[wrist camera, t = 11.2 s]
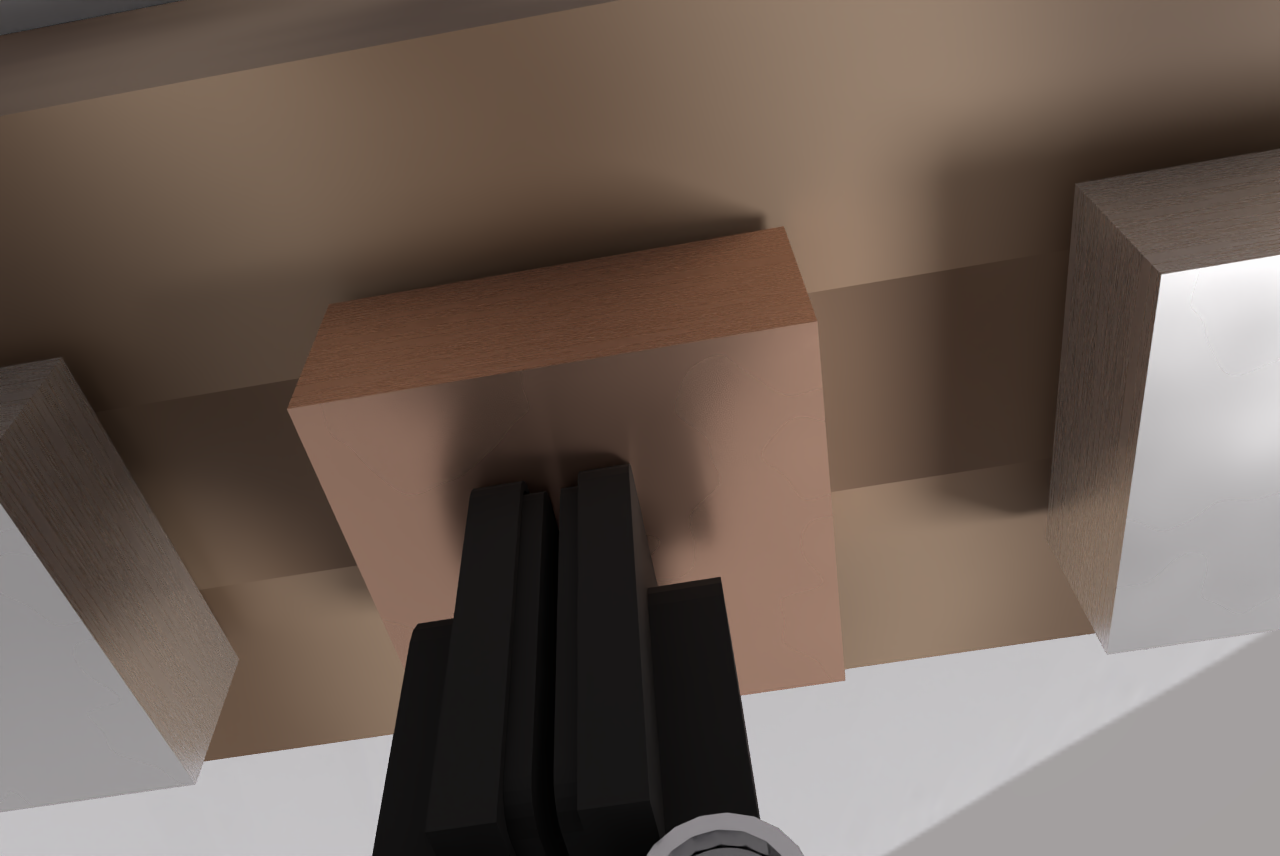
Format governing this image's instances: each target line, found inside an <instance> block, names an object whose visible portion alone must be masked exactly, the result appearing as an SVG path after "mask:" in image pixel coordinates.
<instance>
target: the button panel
mask: <svg viewBox="0 0 1280 856" xmlns="http://www.w3.org/2000/svg"><path fill="white" fill-rule="evenodd" d="M1274 149H1280V0H182V1H177V2H172V3H167V4H162V5H156V6H151V7H146V8H141V9H136V10H130V11H125V12H120V13H115V14H110V15H104V16H99V17H94V18H89V19H84V20H78V21H73V22H68V23H63V24H58V25H52V26H47V27H42V28H37V29H32V30H26V31H21V32H16V33H11V34H6V35H0V367H5V366H11V365H17V364H23V363H28V362H34V361H40V360H46V359H52V358H58V357H63V359H64V361H65V363H66V364H67V366H68V368H69V369H70V371H71V373H72V375H73V376H74V378H75V380H76V381H77V383H78V385H79V387H80V388H81V390H82V392H83V393H84V395H85V397H86V398H87V400H88V402H89V404H90V405H91V407H92V409H93V410H94V412H95V414H96V416H97V417H98V419H99V421H100V422H101V424H102V426H103V427H104V429H105V431H106V433H107V434H108V436H109V438H110V439H111V441H112V443H113V445H114V446H115V448H116V450H117V451H118V453H119V455H120V457H121V458H122V460H123V462H124V463H125V465H126V467H127V468H128V470H129V472H130V474H131V475H132V477H133V479H134V480H135V482H136V484H137V486H138V487H139V489H140V491H141V492H142V494H143V496H144V497H145V499H146V501H147V503H148V504H149V506H150V508H151V509H152V511H153V513H154V515H155V516H156V518H157V520H158V521H159V523H160V525H161V527H162V528H163V530H164V532H165V533H166V535H167V537H168V538H169V540H170V542H171V544H172V545H173V547H174V549H175V550H176V552H177V554H178V556H179V557H180V559H181V561H182V562H183V564H184V566H185V568H186V569H187V571H188V573H189V574H190V576H191V578H192V579H193V581H194V583H195V585H196V586H197V588H198V590H199V591H200V593H201V595H202V597H203V598H204V600H205V602H206V603H207V605H208V607H209V608H210V610H211V612H212V614H213V615H214V617H215V619H216V620H217V622H218V624H219V626H220V627H221V629H222V631H223V632H224V634H225V636H226V638H227V639H228V641H229V643H230V644H231V646H232V648H233V649H234V651H235V653H236V655H237V656H238V658H239V661H238V664H237V667H236V670H235V673H234V676H233V678H232V681H231V684H230V687H229V690H228V693H227V696H226V698H225V701H224V704H223V707H222V710H221V713H220V716H219V719H218V721H217V724H216V727H215V730H214V733H213V736H212V739H211V742H210V744H209V747H208V750H207V753H206V756H205V759H204V761H210V760H217V759H224V758H231V757H237V756H244V755H251V754H258V753H265V752H272V751H279V750H286V749H293V748H300V747H307V746H314V745H321V744H328V743H335V742H342V741H349V740H356V739H363V738H370V737H376V736H383V735H390V734H394V729H395V723H396V717H397V712H398V706H399V700H400V694H401V689H402V683H403V677H404V672H405V670H404V668H403V665H402V663H401V661H400V659H399V657H398V654H397V652H396V650H395V648H394V645H393V643H392V641H391V639H390V637H389V634H388V632H387V630H386V628H385V626H384V623H383V621H382V619H381V617H380V614H379V612H378V610H377V608H376V606H375V603H374V601H373V599H372V597H371V594H370V592H369V590H368V588H367V586H366V583H365V581H364V579H363V577H362V575H361V572H360V570H359V568H358V566H357V563H356V561H355V559H354V557H353V555H352V552H351V550H350V548H349V546H348V543H347V541H346V539H345V537H344V535H343V532H342V530H341V528H340V526H339V523H338V521H337V519H336V517H335V515H334V512H333V510H332V508H331V506H330V504H329V501H328V499H327V497H326V495H325V492H324V490H323V488H322V486H321V484H320V481H319V479H318V477H317V475H316V472H315V470H314V468H313V466H312V464H311V461H310V459H309V457H308V455H307V452H306V450H305V448H304V446H303V444H302V441H301V439H300V437H299V435H298V433H297V430H296V428H295V426H294V424H293V421H292V419H291V417H290V415H289V413H288V410H287V408H288V405H289V403H290V400H291V398H292V395H293V393H294V390H295V388H296V385H297V383H298V380H299V378H300V375H301V373H302V370H303V368H304V365H305V363H306V360H307V358H308V355H309V353H310V350H311V348H312V345H313V343H314V340H315V338H316V335H317V333H318V330H319V328H320V325H321V323H322V320H323V318H324V315H325V313H326V310H327V308H328V305H329V304H333V303H339V302H345V301H350V300H356V299H362V298H368V297H374V296H380V295H385V294H391V293H397V292H403V291H409V290H415V289H420V288H426V287H432V286H438V285H444V284H450V283H455V282H461V281H467V280H473V279H479V278H485V277H490V276H496V275H502V274H508V273H514V272H520V271H525V270H531V269H537V268H543V267H549V266H555V265H560V264H566V263H572V262H578V261H584V260H590V259H595V258H601V257H607V256H613V255H619V254H625V253H630V252H636V251H642V250H648V249H654V248H660V247H665V246H671V245H677V244H683V243H689V242H695V241H700V240H706V239H712V238H718V237H724V236H730V235H735V234H741V233H747V232H753V231H759V230H765V229H770V228H776V227H782V226H784V228H785V231H786V234H787V237H788V239H789V242H790V245H791V248H792V251H793V253H794V256H795V259H796V262H797V265H798V268H799V270H800V273H801V276H802V279H803V282H804V285H805V287H806V290H807V293H808V296H809V299H810V301H811V304H812V307H813V310H814V313H815V316H816V318H817V321H818V334H819V347H820V360H821V373H822V385H823V398H824V411H825V424H826V437H827V450H828V463H829V476H830V489H831V502H832V515H833V528H834V541H835V553H836V566H837V579H838V592H839V605H840V618H841V631H842V644H843V657H844V669H849V668H856V667H863V666H870V665H877V664H884V663H891V662H898V661H905V660H912V659H919V658H926V657H933V656H940V655H946V654H953V653H960V652H967V651H974V650H981V649H988V648H995V647H1002V646H1009V645H1016V644H1023V643H1030V642H1037V641H1044V640H1051V639H1058V638H1065V637H1072V636H1079V635H1085V634H1092V633H1095V631H1094V629H1093V627H1092V625H1091V623H1090V621H1089V620H1088V618H1087V616H1086V614H1085V612H1084V610H1083V608H1082V606H1081V604H1080V603H1079V601H1078V599H1077V597H1076V595H1075V593H1074V591H1073V589H1072V587H1071V585H1070V584H1069V582H1068V580H1067V578H1066V576H1065V574H1064V572H1063V570H1062V568H1061V566H1060V565H1059V563H1058V561H1057V559H1056V557H1055V555H1054V553H1053V551H1052V549H1051V548H1050V546H1049V544H1048V542H1047V540H1046V528H1047V516H1048V504H1049V492H1050V480H1051V468H1052V456H1053V444H1054V432H1055V420H1056V408H1057V396H1058V385H1059V373H1060V361H1061V349H1062V337H1063V325H1064V313H1065V301H1066V289H1067V277H1068V265H1069V253H1070V242H1071V230H1072V218H1073V206H1074V194H1075V183H1081V182H1087V181H1093V180H1099V179H1105V178H1111V177H1116V176H1122V175H1128V174H1134V173H1140V172H1146V171H1151V170H1157V169H1163V168H1169V167H1175V166H1181V165H1187V164H1192V163H1198V162H1204V161H1210V160H1216V159H1222V158H1227V157H1233V156H1239V155H1245V154H1251V153H1257V152H1263V151H1268V150H1274Z"/></svg>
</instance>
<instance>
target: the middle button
mask: <svg viewBox="0 0 1280 856" xmlns="http://www.w3.org/2000/svg"><path fill="white" fill-rule="evenodd" d="M287 410H288V413H289V415H290V417H291V419H292V421H293V424H294V426H295V428H296V430H297V433H298V435H299V437H300V439H301V441H302V444H303V446H304V448H305V450H306V452H307V455H308V457H309V459H310V461H311V464H312V466H313V468H314V470H315V472H316V475H317V477H318V479H319V481H320V484H321V486H322V488H323V490H324V492H325V495H326V497H327V499H328V501H329V504H330V506H331V508H332V510H333V512H334V515H335V517H336V519H337V521H338V523H339V526H340V528H341V530H342V532H343V535H344V537H345V539H346V541H347V543H348V546H349V548H350V550H351V552H352V555H353V557H354V559H355V561H356V563H357V566H358V568H359V570H360V572H361V575H362V577H363V579H364V581H365V583H366V586H367V588H368V590H369V592H370V594H371V597H372V599H373V601H374V603H375V606H376V608H377V610H378V612H379V614H380V617H381V619H382V621H383V623H384V626H385V628H386V630H387V632H388V634H389V637H390V639H391V641H392V643H393V645H394V648H395V650H396V652H397V654H398V657H399V659H400V661H401V663H402V665H403V668H404V670H405V666H406V660H407V655H408V649H409V643H410V639H411V636H412V632H413V630H414V628H415V627H416V625H417V624H418V623H425V622H431V621H438V620H444V619H451V618H454V610H455V603H456V595H457V588H458V580H459V573H460V565H461V558H462V550H463V543H464V535H465V528H466V520H467V513H468V505H469V498H470V494H471V491H472V490H473V489H475V488H481V487H487V486H494V485H500V484H506V483H512V482H518V481H525V482H526V484H527V486H528V489H529V493H536V492H542V491H546V492H547V493H548V495H549V498H550V501H551V504H552V508H553V511H554V515H555V519H556V522H557V526H558V529H559V513H560V490H561V488H567V487H573V486H578V473H579V472H580V471H586V470H592V469H598V468H604V467H610V466H616V465H623V464H629V463H630V465H631V468H632V472H633V477H634V481H635V486H636V490H637V495H638V499H639V504H640V508H641V513H642V517H643V522H644V527H645V531H646V536H647V540H648V545H649V549H650V554H651V558H652V563H653V567H654V572H655V577H656V581H657V586H663V585H670V584H676V583H683V582H689V581H695V580H702V579H708V578H715V577H721V581H722V587H723V593H724V598H725V604H726V610H727V616H728V622H729V628H730V634H731V640H732V646H733V652H734V658H735V664H736V671H737V677H738V683H739V689H740V695H747V694H754V693H761V692H768V691H775V690H782V689H789V688H796V687H803V686H810V685H817V684H824V683H831V682H838V681H845V670H844V657H843V644H842V631H841V618H840V605H839V592H838V579H837V566H836V553H835V541H834V528H833V515H832V502H831V489H830V476H829V463H828V450H827V437H826V424H825V411H824V398H823V385H822V373H821V360H820V347H819V334H818V321H817V318H816V316H815V313H814V310H813V307H812V304H811V301H810V299H809V296H808V293H807V290H806V287H805V285H804V282H803V279H802V276H801V273H800V270H799V268H798V265H797V262H796V259H795V256H794V253H793V251H792V248H791V245H790V242H789V239H788V237H787V234H786V231H785V228H784V226H782V227H776V228H770V229H765V230H759V231H753V232H747V233H741V234H735V235H730V236H724V237H718V238H712V239H706V240H700V241H695V242H689V243H683V244H677V245H671V246H665V247H660V248H654V249H648V250H642V251H636V252H630V253H625V254H619V255H613V256H607V257H601V258H595V259H590V260H584V261H578V262H572V263H566V264H560V265H555V266H549V267H543V268H537V269H531V270H525V271H520V272H514V273H508V274H502V275H496V276H490V277H485V278H479V279H473V280H467V281H461V282H455V283H450V284H444V285H438V286H432V287H426V288H420V289H415V290H409V291H403V292H397V293H391V294H385V295H380V296H374V297H368V298H362V299H356V300H350V301H345V302H339V303H333V304H329V305H328V308H327V310H326V313H325V315H324V318H323V320H322V323H321V325H320V328H319V330H318V333H317V335H316V338H315V340H314V343H313V345H312V348H311V350H310V353H309V355H308V358H307V360H306V363H305V365H304V368H303V370H302V373H301V375H300V378H299V380H298V383H297V385H296V388H295V390H294V393H293V395H292V398H291V400H290V403H289V405H288V408H287Z"/></svg>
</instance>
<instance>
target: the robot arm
mask: <svg viewBox="0 0 1280 856" xmlns="http://www.w3.org/2000/svg"><path fill="white" fill-rule="evenodd" d="M372 856H804V855H803V853H802V852H801V850H800V848H799V846H798V845H796V844H795V843H794V842H793V841H792V840H791V839H790V838H789V837H788V836H787V835H786V834H784V833H783V832H782V831H781V830H780V829H779V828H777V827H775V826H773V825H771V824H769V823H767V822H765V821H762V820H760V815H759V809H758V803H757V796H756V790H755V784H754V777H753V771H752V765H751V758H750V752H749V746H748V739H747V733H746V727H745V721H744V714H743V708H742V702H741V695H740V689H739V683H738V677H737V671H736V664H735V658H734V652H733V646H732V640H731V634H730V628H729V622H728V616H727V610H726V604H725V598H724V593H723V587H722V581H721V577H715V578H708V579H702V580H695V581H689V582H683V583H676V584H670V585H663V586H657V581H656V577H655V572H654V567H653V563H652V558H651V554H650V549H649V545H648V540H647V536H646V531H645V527H644V522H643V517H642V513H641V508H640V504H639V499H638V495H637V490H636V486H635V481H634V477H633V472H632V468H631V465H630V463H629V464H623V465H616V466H610V467H604V468H598V469H592V470H586V471H580V472H579V473H578V486H573V487H567V488H561V490H560V513H559V529H558V526H557V522H556V519H555V515H554V511H553V508H552V504H551V501H550V498H549V495H548V493H547V492H546V491H542V492H536V493H529V489H528V486H527V484H526V482H525V481H518V482H512V483H506V484H500V485H494V486H487V487H481V488H475V489H473V490H472V491H471V494H470V498H469V505H468V513H467V520H466V528H465V535H464V543H463V550H462V558H461V565H460V573H459V580H458V588H457V595H456V603H455V610H454V618H451V619H444V620H438V621H431V622H425V623H418V624H417V625H416V627H415V628H414V630H413V632H412V636H411V639H410V643H409V649H408V655H407V660H406V666H405V672H404V677H403V683H402V689H401V694H400V700H399V706H398V712H397V717H396V723H395V729H394V734H393V740H392V746H391V752H390V757H389V763H388V769H387V774H386V780H385V786H384V792H383V797H382V803H381V809H380V814H379V820H378V826H377V831H376V837H375V843H374V849H373V854H372Z"/></svg>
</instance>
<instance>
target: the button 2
mask: <svg viewBox="0 0 1280 856" xmlns="http://www.w3.org/2000/svg"><path fill="white" fill-rule="evenodd" d="M1046 540H1047V542H1048V544H1049V546H1050V548H1051V549H1052V551H1053V553H1054V555H1055V557H1056V559H1057V561H1058V563H1059V565H1060V566H1061V568H1062V570H1063V572H1064V574H1065V576H1066V578H1067V580H1068V582H1069V584H1070V585H1071V587H1072V589H1073V591H1074V593H1075V595H1076V597H1077V599H1078V601H1079V603H1080V604H1081V606H1082V608H1083V610H1084V612H1085V614H1086V616H1087V618H1088V620H1089V621H1090V623H1091V625H1092V627H1093V629H1094V631H1095V633H1096V635H1097V637H1098V639H1099V640H1100V642H1101V644H1102V646H1103V648H1104V650H1105V652H1106V654H1114V653H1121V652H1128V651H1135V650H1142V649H1149V648H1156V647H1163V646H1170V645H1177V644H1184V643H1191V642H1198V641H1205V640H1212V639H1219V638H1226V637H1233V636H1240V635H1247V634H1254V633H1262V632H1269V631H1275V630H1280V149H1274V150H1268V151H1263V152H1257V153H1251V154H1245V155H1239V156H1233V157H1227V158H1222V159H1216V160H1210V161H1204V162H1198V163H1192V164H1187V165H1181V166H1175V167H1169V168H1163V169H1157V170H1151V171H1146V172H1140V173H1134V174H1128V175H1122V176H1116V177H1111V178H1105V179H1099V180H1093V181H1087V182H1081V183H1075V194H1074V206H1073V218H1072V230H1071V242H1070V253H1069V265H1068V277H1067V289H1066V301H1065V313H1064V325H1063V337H1062V349H1061V361H1060V373H1059V385H1058V396H1057V408H1056V420H1055V432H1054V444H1053V456H1052V468H1051V480H1050V492H1049V504H1048V516H1047V528H1046Z"/></svg>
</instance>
